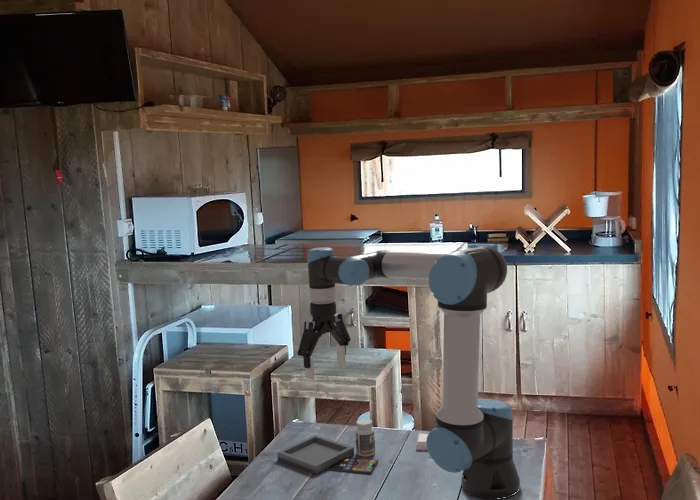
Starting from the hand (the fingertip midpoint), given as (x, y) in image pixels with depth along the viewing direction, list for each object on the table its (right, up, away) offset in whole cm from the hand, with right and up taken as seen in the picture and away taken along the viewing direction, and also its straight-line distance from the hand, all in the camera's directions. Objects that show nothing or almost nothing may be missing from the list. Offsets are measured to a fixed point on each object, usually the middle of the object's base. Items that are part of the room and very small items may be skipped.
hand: (326, 372), depth 203 cm
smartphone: (+7, -27, -4) cm, 28 cm away
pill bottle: (+12, -25, +4) cm, 28 cm away
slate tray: (-3, -26, +2) cm, 26 cm away
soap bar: (+30, -24, +9) cm, 40 cm away
